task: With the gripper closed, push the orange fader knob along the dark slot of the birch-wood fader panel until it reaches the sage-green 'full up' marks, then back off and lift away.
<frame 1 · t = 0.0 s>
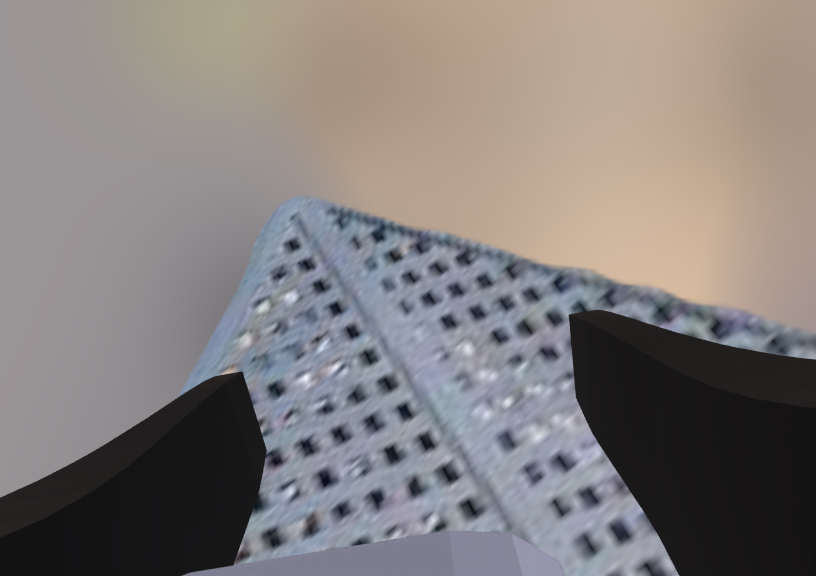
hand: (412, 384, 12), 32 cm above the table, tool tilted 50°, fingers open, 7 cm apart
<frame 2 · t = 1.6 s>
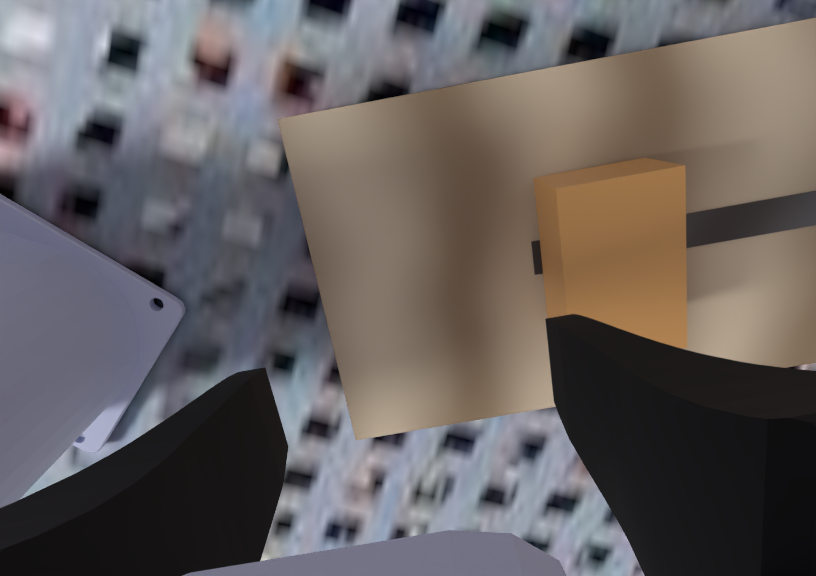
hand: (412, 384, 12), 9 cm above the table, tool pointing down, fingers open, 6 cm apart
fader panel: (611, 228, 20), on the table
fader knob: (608, 260, 17), point 4 cm above the table, slide at 0.0 cm
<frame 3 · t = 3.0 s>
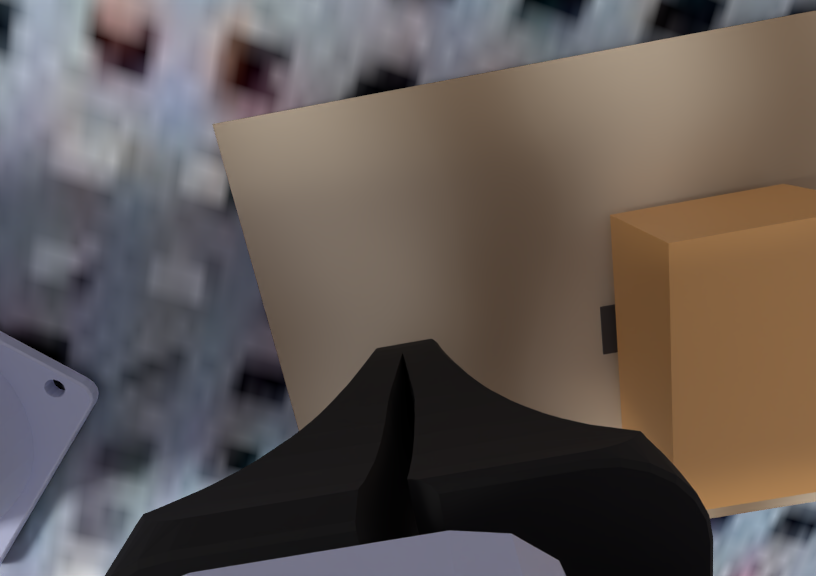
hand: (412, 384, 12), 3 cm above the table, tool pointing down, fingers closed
fader panel: (704, 278, 14), on the table
fader knob: (730, 345, 11), point 4 cm above the table, slide at 0.0 cm
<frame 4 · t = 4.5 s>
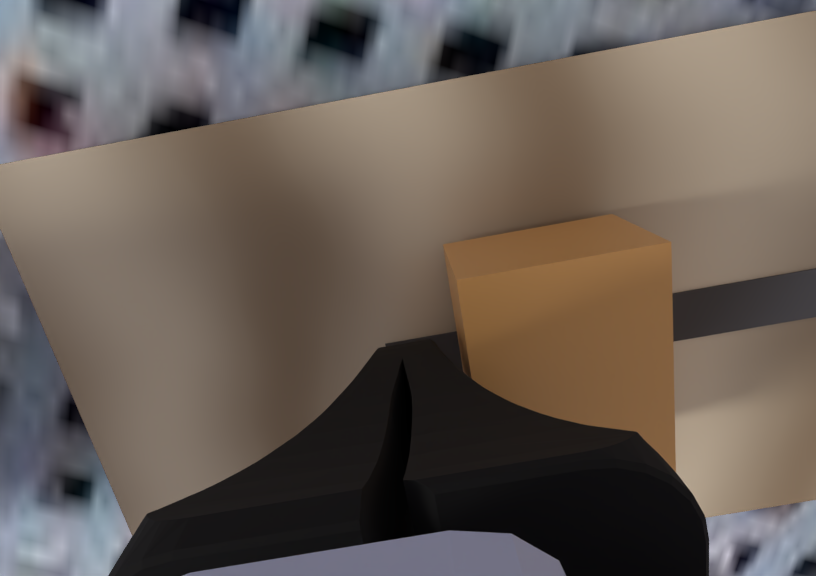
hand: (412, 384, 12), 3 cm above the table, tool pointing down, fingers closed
fader panel: (517, 310, 14), on the table
fader knob: (556, 374, 11), point 4 cm above the table, slide at 1.5 cm, touching gripper
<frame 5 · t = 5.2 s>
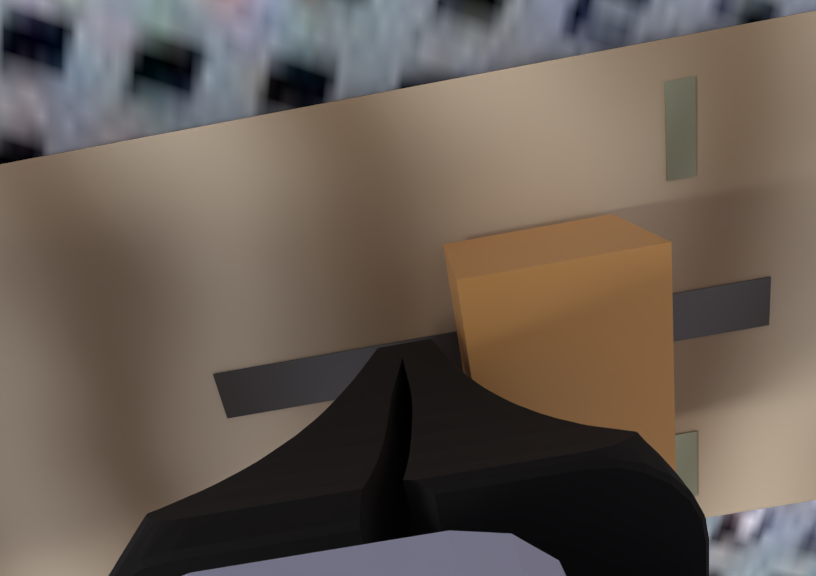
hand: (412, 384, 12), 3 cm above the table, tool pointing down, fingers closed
fader panel: (368, 336, 15), on the table
fader knob: (556, 374, 11), point 4 cm above the table, slide at 5.6 cm, touching gripper
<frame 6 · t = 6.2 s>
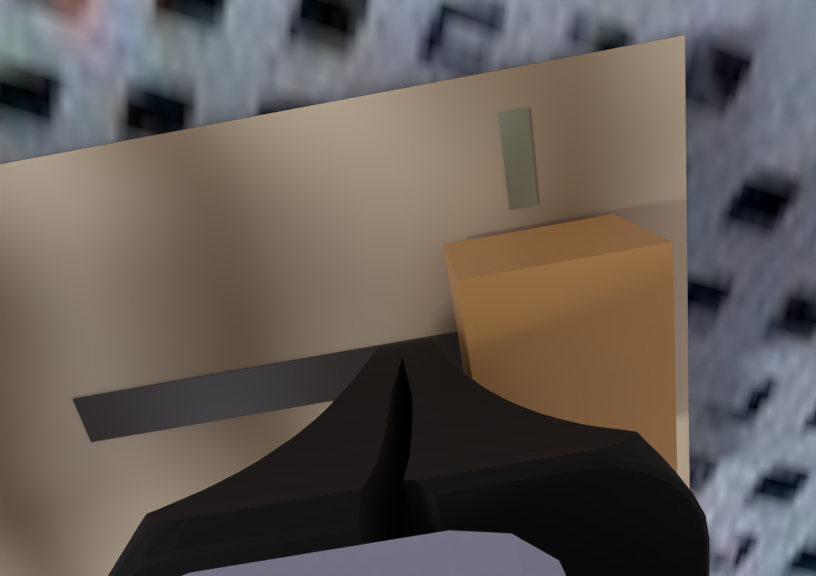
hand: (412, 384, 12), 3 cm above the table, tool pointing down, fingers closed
fader panel: (246, 358, 15), on the table
fader knob: (556, 374, 11), point 4 cm above the table, slide at 9.0 cm, touching gripper
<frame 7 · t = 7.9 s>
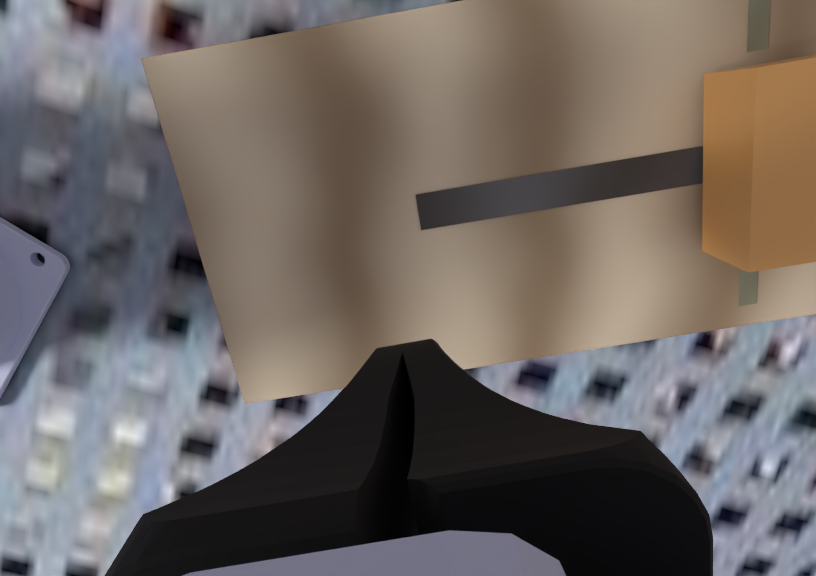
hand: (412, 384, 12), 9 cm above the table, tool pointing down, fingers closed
fader panel: (510, 186, 20), on the table
fader knob: (787, 161, 16), point 4 cm above the table, slide at 9.0 cm
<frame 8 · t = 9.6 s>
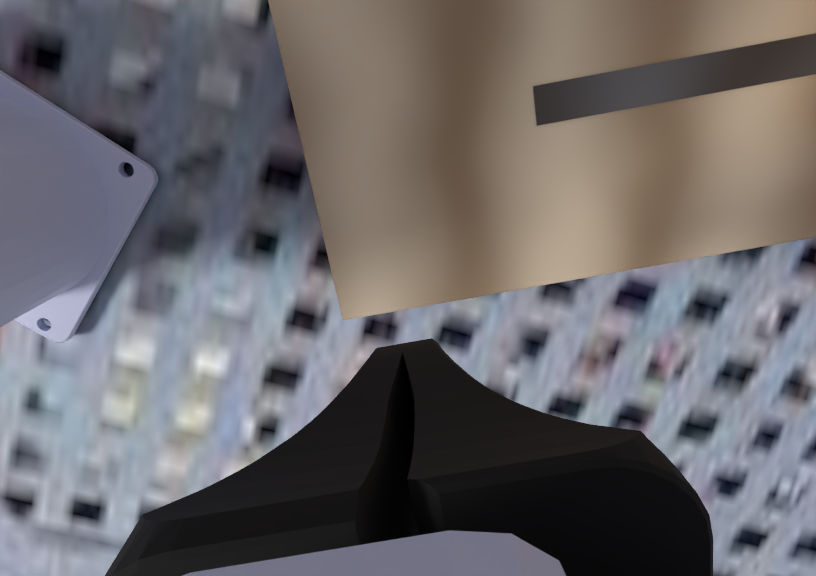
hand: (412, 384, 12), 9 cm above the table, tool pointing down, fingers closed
fader panel: (619, 88, 19), on the table
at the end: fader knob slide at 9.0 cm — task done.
